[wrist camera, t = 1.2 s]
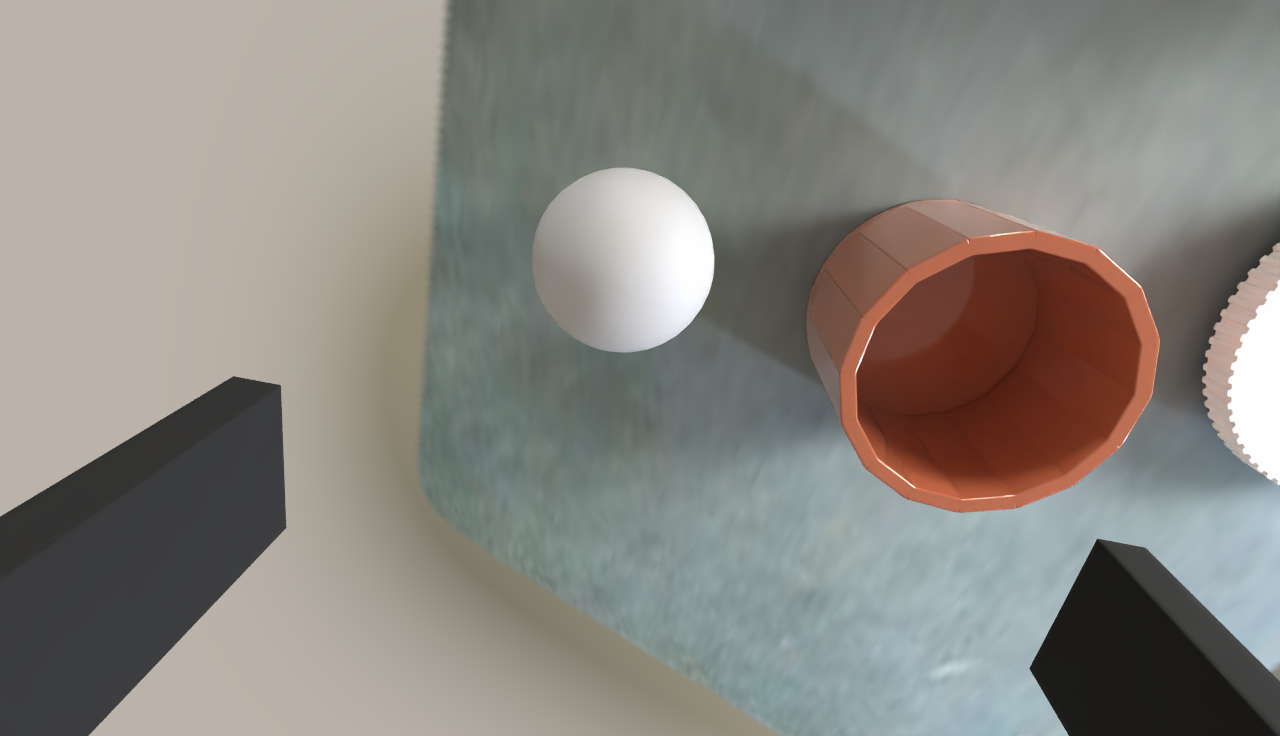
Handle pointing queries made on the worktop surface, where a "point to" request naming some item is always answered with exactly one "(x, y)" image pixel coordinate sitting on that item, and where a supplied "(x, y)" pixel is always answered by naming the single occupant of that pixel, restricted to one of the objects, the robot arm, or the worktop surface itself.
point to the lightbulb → (623, 260)
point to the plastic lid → (1249, 370)
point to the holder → (979, 353)
